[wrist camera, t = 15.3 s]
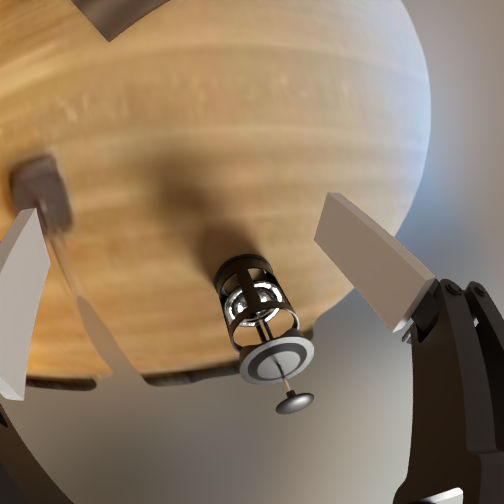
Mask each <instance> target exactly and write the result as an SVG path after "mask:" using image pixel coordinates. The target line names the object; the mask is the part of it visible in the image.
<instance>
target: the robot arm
mask: <svg viewBox="0 0 504 504" xmlns="http://www.w3.org/2000/svg"><path fill="white" fill-rule="evenodd" d="M314 240H315V242H316V243H317V244H318V245H319V246H320V247H321V248H322V250H323V251H324V252H325V253H326V254H327V255H328V256H329V258H330V259H331V260H332V261H333V262H334V263H335V264H336V266H337V267H338V268H339V269H340V270H341V271H342V273H343V274H344V275H345V276H346V277H347V278H348V280H349V281H350V282H351V283H352V284H353V286H354V287H355V288H356V289H357V290H358V292H359V293H360V294H361V295H362V296H363V298H364V299H365V300H366V301H367V303H368V304H369V305H370V306H371V308H372V309H373V310H374V311H375V312H376V314H377V315H378V316H379V317H380V319H381V320H382V321H383V323H384V324H385V325H386V326H387V328H388V329H389V330H390V331H391V332H392V333H393V332H395V331H397V330H400V329H401V328H403V327H404V326H405V324H406V323H407V322H408V320H409V319H410V317H411V318H412V320H413V321H414V322H413V324H412V325H411V326H410V328H409V329H408V330H407V332H406V333H405V334H404V336H403V337H402V342H404V341H405V339H406V338H407V337H408V336H411V337H410V338H409V340H408V341H407V343H409V344H411V345H412V363H413V420H412V421H413V422H412V436H411V448H410V457H409V466H408V473H407V477H406V479H405V481H404V482H403V483H402V485H401V486H400V487H399V488H398V490H397V492H396V493H395V496H394V500H393V504H436V503H437V502H439V501H441V500H444V499H447V498H450V497H453V496H456V495H459V494H462V493H463V504H504V320H503V318H502V316H501V314H500V313H499V311H498V309H497V307H496V306H495V304H494V302H493V301H492V299H491V297H490V296H489V294H488V293H487V291H486V290H485V288H484V287H483V286H482V285H481V284H479V283H476V282H473V281H472V282H470V283H469V285H468V286H467V288H466V289H465V290H462V289H461V288H460V287H459V286H458V285H457V284H455V283H454V282H452V281H451V280H448V279H442V280H441V281H440V282H439V281H438V280H437V279H436V277H435V276H434V275H433V274H432V273H431V272H430V271H429V270H428V269H427V268H426V267H425V266H424V265H423V264H422V263H421V262H420V261H419V260H418V259H417V258H416V257H415V256H414V255H413V254H411V253H410V252H409V251H408V250H407V249H406V248H405V247H404V246H403V245H401V244H400V243H399V242H398V241H397V240H396V239H395V238H394V237H393V236H391V235H390V234H389V233H388V232H387V231H386V230H385V229H383V228H382V227H381V226H380V225H379V224H377V223H376V222H375V221H374V220H373V219H371V218H370V217H369V216H368V215H367V214H365V213H364V212H363V211H362V210H360V209H359V208H358V207H357V206H355V205H354V204H353V203H352V202H350V201H349V200H348V199H347V198H345V197H344V196H343V195H341V194H340V193H327V196H326V200H325V203H324V207H323V210H322V214H321V217H320V221H319V224H318V227H317V231H316V234H315V237H314ZM50 264H51V262H50V259H49V256H48V252H47V249H46V246H45V242H44V239H43V235H42V231H41V228H40V224H39V219H38V215H37V211H36V208H33V209H26V210H21V212H20V213H19V214H18V216H17V217H16V219H15V220H14V222H13V224H12V225H11V227H10V228H9V230H8V231H7V233H6V235H5V236H4V238H3V240H2V241H1V243H0V393H1V394H2V395H3V396H4V397H5V398H6V399H13V400H24V391H25V390H24V389H25V380H26V371H27V363H28V356H29V349H30V343H31V338H32V333H33V328H34V323H35V318H36V314H37V310H38V306H39V302H40V298H41V294H42V290H43V287H44V283H45V280H46V277H47V274H48V270H49V267H50ZM475 318H477V320H478V322H479V323H478V324H477V326H476V327H475V326H474V322H473V321H474V319H475ZM0 504H74V503H73V502H72V501H71V500H70V499H69V498H68V497H67V496H66V495H65V494H64V493H63V492H62V491H61V490H60V489H59V488H58V486H57V485H56V484H55V483H54V482H53V480H52V479H51V478H50V477H49V476H48V475H47V473H46V472H45V471H44V469H43V468H42V467H41V466H40V464H39V463H38V462H37V461H36V459H35V458H34V456H33V455H32V454H31V452H30V451H29V449H28V448H27V446H26V445H25V444H24V442H23V441H22V439H21V437H20V436H19V434H18V433H17V431H16V430H15V428H14V427H13V425H12V423H11V421H10V420H9V418H8V416H7V414H6V413H5V411H4V409H3V407H2V405H1V404H0Z"/></svg>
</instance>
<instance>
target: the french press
mask: <svg viewBox="0 0 504 504" xmlns="http://www.w3.org/2000/svg"><path fill="white" fill-rule="evenodd" d="M250 268H258V269H263V270H264V272H265V281H263V280H253V281H252V279H251V276H250V274H249V272H248V269H250ZM234 274H236V276H237V279H238V282H239V286H238V287H237V288H235V289H234V290H233V291H232V292H231V294H230V295H229V294H228V293H227V292H226V291H225V289H224V287H223V285H224V283H225V282H226V281H227V280H228V279H229V278H230V277H231V276H232V275H234ZM215 288H216V291H217V293H218V295H219V299H220V302H221V306H222V310H223V314H224V318H225V322H226V325H227V329H228V333H229V336H230V340H231V343H232V346H233V348H234V349H235V350H236V351H237V352H239V353H240V361H241V363H240V366H239V372H240V375H241V377H242V378H243V379H244V380H245V381H247V382H249V383H251V384H256V385H269V384H274V383H279V382H281V381H284V383H285V385H286V388H287V390H288V392H287V393H286V394H287V397H288V398H287V399H285V400H284V401H282V402H281V403H280V404H278V406H277V407H276V412H277V413H279V414H291V413H295V412H298V411H300V410H302V409H304V408H306V407H307V406H308V405H309V404H311V403H312V401H313V400H314V395H313V394H311V393H301V394H297V395H296V394H295V392H294V390H291V389H290V386H289V384H288V382H287V379H289V378H291V377H293V376H295V375H296V374H298V373H299V372H301V371H302V370H303V369H304V368H305V367H306V366H307V365H308V364H309V363H310V361H311V359H312V358H313V354H314V347H313V344H312V343H311V342H310V340H309V339H307V338H305V337H304V336H303V334H302V333H301V332H300V331H299V330H298V329H299V320H298V317H297V315H296V314H295V312H294V310H293V308H292V306H291V305H290V303H289V301H288V299H287V297H286V296H285V294H284V292H283V290H282V288H281V287H280V285H279V283H278V281H277V279H276V278H275V276H274V274H273V270H272V268H271V266H270V264H269V263H268V262H267V261H266V260H265V259H264V258H262V257H260V256H257V255H253V254H244V255H239V256H235V257H233V258H231V259H229V260H228V261H226V262H225V263H224V264H223V265H222V266H221V267H220V269H219V270H218V272H217V274H216V276H215ZM283 299H284V301H285V303H284V302H283ZM280 309H284V310H287V311H289V312H291V314H292V316H293V318H294V323H293V326H292V328H291V329H289V330H287V331H286V332H285V333H284V334H283V335H281V336H280V337H276V338H273V336H272V333H271V331H270V329H269V326H268V324H267V322H268V321H269V320H271V319H272V318H273V317H274V316H275V315H276V314H277V313H278V312H279V310H280ZM228 320H229V321H231V324H230V325H229V321H228ZM237 326H241V327H254V326H256V328H257V331H258V334H259V336H260V339H261V341H262V343H261V344H258V345H248V346H244V347H241V346H239V345H237V344H236V343H235V342H234V339H233V333H234V331H235V329H236V327H237Z"/></svg>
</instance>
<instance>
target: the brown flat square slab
mask: <svg viewBox="0 0 504 504" xmlns="http://www.w3.org/2000/svg"><path fill="white" fill-rule="evenodd" d="M71 1H72V2H73V3H74V4H75V5H76V6H77V7H78V9H79V10H80V11H81V12H82V13H83V14H84V15H85V16H86V17H87V18H88V20H89V21H90V22H91V23H92V24H93V25H94V26H95V27H96V28H97V30H98V31H99V32H100V33H101V34H102V35H103V36H104V37H105V39H106V40H107V41H108V42H110V41H112V40H113V39H114V38H115V37H117V36H118V35H119V34H120V33H122V32H123V31H124V30H126V29H127V28H128V27H130V26H131V25H133V24H134V23H135V22H137V21H138V20H140V19H141V18H143V17H144V16H145V15H147V14H148V13H150V12H152V11H153V10H155V9H156V8H158V7H159V6H161V5H163V4H164V3H166V2H168V1H169V0H71Z"/></svg>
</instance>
